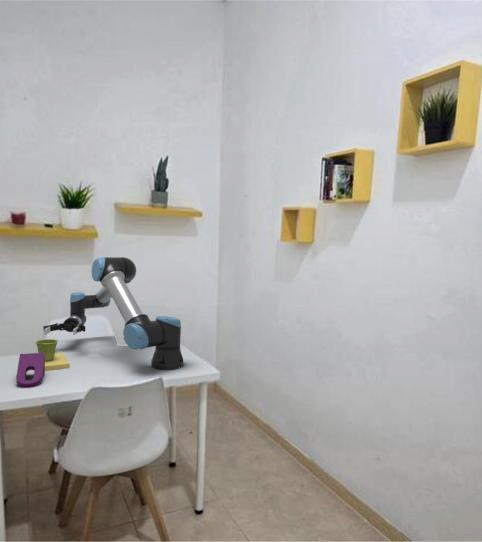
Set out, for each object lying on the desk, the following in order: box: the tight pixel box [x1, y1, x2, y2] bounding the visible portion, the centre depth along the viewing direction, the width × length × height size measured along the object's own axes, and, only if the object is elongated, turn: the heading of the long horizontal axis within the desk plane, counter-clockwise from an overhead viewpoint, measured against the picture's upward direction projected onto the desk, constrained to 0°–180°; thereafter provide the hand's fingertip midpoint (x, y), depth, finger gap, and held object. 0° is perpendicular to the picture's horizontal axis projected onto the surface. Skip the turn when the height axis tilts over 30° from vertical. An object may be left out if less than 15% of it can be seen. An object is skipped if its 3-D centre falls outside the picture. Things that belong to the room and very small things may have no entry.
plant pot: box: [35, 338, 59, 361], centre depth 195 cm, size 9×9×9 cm
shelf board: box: [45, 352, 71, 372], centre depth 196 cm, size 20×12×2 cm, turn 31°
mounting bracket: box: [15, 352, 46, 388], centre depth 174 cm, size 10×8×18 cm
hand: (59, 332), depth 203 cm, fingers open, 13 cm apart
